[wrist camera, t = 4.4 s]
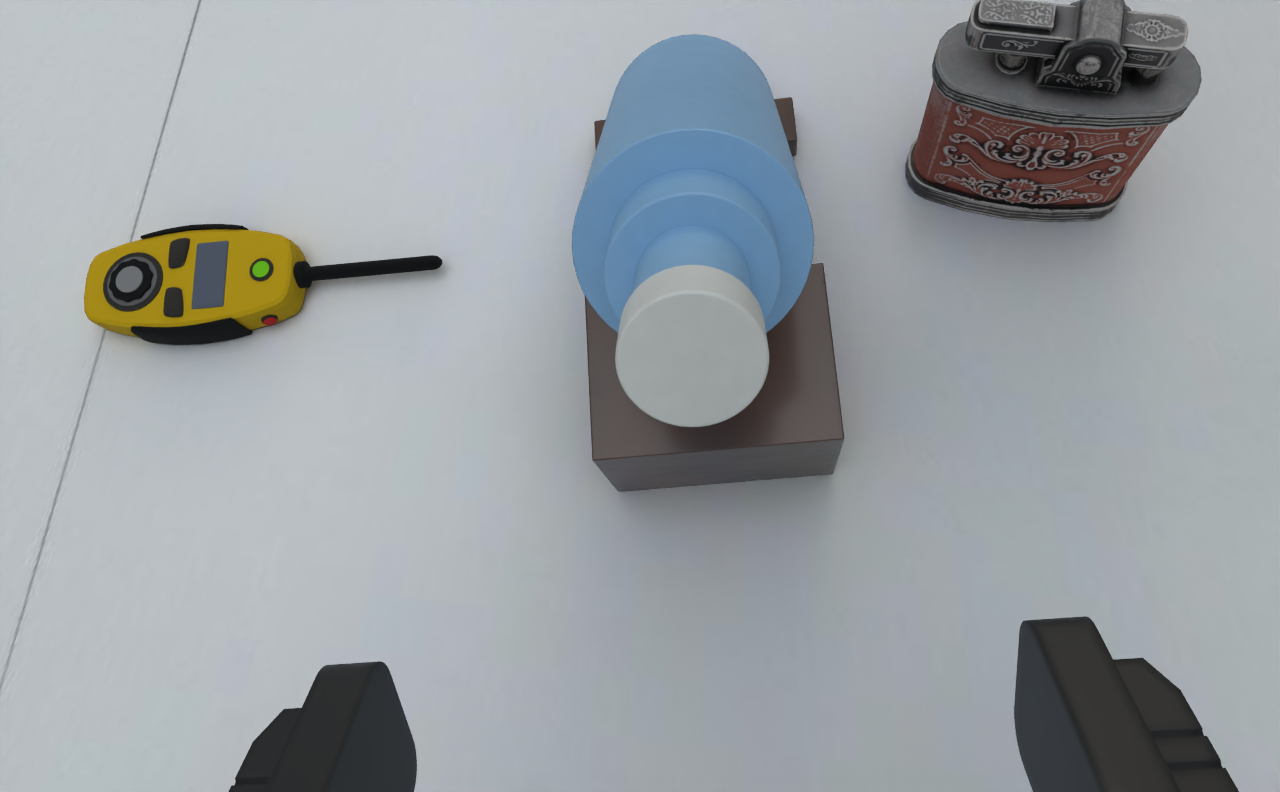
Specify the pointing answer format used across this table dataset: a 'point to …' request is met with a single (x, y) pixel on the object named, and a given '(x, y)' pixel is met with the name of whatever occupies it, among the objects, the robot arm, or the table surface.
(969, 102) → the lighter
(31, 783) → the table surface
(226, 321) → the yellow walkie talkie
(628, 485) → the dark brown cuboids
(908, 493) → the table surface
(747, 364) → the bottle
